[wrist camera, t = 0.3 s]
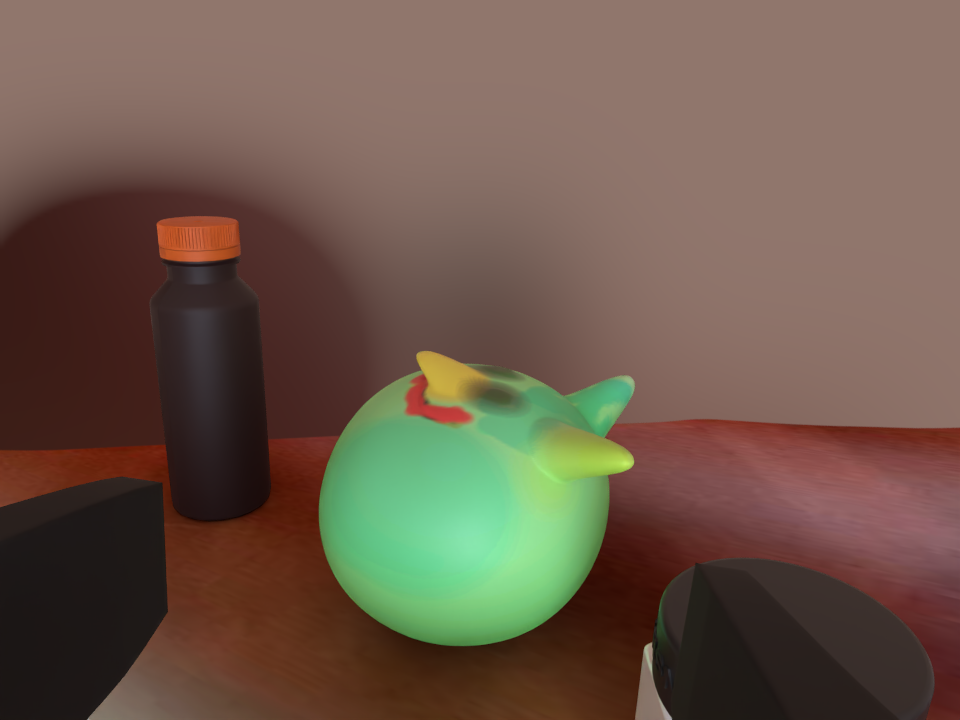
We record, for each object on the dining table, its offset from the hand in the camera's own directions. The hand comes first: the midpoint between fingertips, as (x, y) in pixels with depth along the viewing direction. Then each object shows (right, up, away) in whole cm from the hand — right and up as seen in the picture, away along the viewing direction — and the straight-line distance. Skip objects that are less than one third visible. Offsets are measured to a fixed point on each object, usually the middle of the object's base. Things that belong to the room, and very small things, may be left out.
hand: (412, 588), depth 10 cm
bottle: (-18, -7, +44) cm, 48 cm away
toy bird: (0, -11, +34) cm, 36 cm away
